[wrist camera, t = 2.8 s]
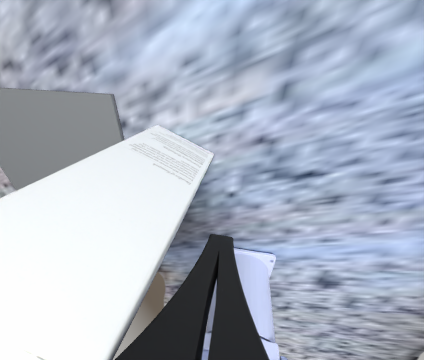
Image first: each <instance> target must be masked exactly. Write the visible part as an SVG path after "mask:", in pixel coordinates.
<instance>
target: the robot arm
mask: <svg viewBox="0 0 424 360" xmlns="http://www.w3.org/2000/svg"><path fill="white" fill-rule="evenodd" d="M275 261H276V256H275V255H274V254H269V253H262V252H256V251H249V250H243V249H237V248H234V246H233V238H232V237H228V236H222V235H215V234H211V235H210V237H209V239H208V242H207V244H206V246H205V248H204V250H203V252H202V254H201V256H200V257H199V259H198V261H197V262H196V264H195V266H194V267H193V269H192V270H191V272H190V273H189V275H188V277H187V278H186V280H185V281H184V282H183V284H182V285H181V287H180V288H179V289H178V291H177V292H176V293H175V295H174V296H173V297H172V298H171V300H170V301H169V302H168V303H167V305H166V306H165V307H164V308H163V309H162V311H161V312H160V313H159V314H158V315H157V317H156V318H155V319H154V320H153V321H152V322H151V323H150V324H149V325H148V326H147V327H146V328H145V330H144V331H143V332H142V333H141V334H140V335H139V336H138V337H137V338H136V339H135V340H134V341H133V342H132V343H131V344H130V345H129V346H128V347H127V348H126V349H125V350H124V351H123V352H122V353H121V354H120V355H119V356H118V357H117V358H116V359H115V360H288V359H287V358H286V357H284V356H280V358H279V349H278V344H277V343H276V342H275V333H274V323H273V314H272V304H271V294H270V285H269V278H270V275H271V272H272V269H273V266H274V263H275ZM209 311H210V312H209ZM208 315H209V318H208ZM207 320H208V325H207ZM206 326H207V331H206Z"/></svg>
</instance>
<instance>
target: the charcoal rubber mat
mask: <svg viewBox="0 0 424 360" xmlns="http://www.w3.org/2000/svg"><path fill="white" fill-rule="evenodd" d="M122 141H124V137H123V132H122V128H121V124H120V120H119V116H118V111H117V107H116V103H115V99H114V94H102V93H84V92H66V91H48V90H30V89H13V88H0V167H1V168H2V170H3V171H4V173H5V174H6V176H7V177H8V179H9V180H10V182H11V183H12V185H13V186H14V188H15V189H16V191H17V190H19V189H21V188H24V187H26V186H28V185H30V184H32V183H34V182H36V181H39V180H41V179H43V178H45V177H47V176H49V175H51V174H54V173H56V172H58V171H60V170H62V169H64V168H66V167H68V166H70V165H72V164H75V163H77V162H79V161H81V160H83V159H85V158H87V157H90V156H92V155H94V154H96V153H98V152H100V151H102V150H104V149H107V148H109V147H111V146H113V145H115V144H117V143H119V142H122Z"/></svg>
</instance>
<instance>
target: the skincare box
mask: <svg viewBox="0 0 424 360" xmlns="http://www.w3.org/2000/svg"><path fill="white" fill-rule="evenodd" d="M213 156H214V154H213V153H211V152H210V151H208V150H206V149H204V148H202V147H200V146H198V145H196V144H194V143H192V142H190V141H188V140H186V139H184V138H182V137H181V136H179V135H177V134H175V133H173V132H171V131H169V130H167V129H165V128H163V127H161V126H160V125H155V126H153V127H151V128H149V129H147V130H145V131H143V132H141V133H138V134H136V135H134V136H132V137H130V138H128V139H126V140H124V141H122V142H119V143H117V144H115V145H113V146H111V147H109V148H107V149H104V150H102V151H100V152H98V153H96V154H94V155H92V156H90V157H87V158H85V159H83V160H81V161H79V162H77V163H75V164H72V165H70V166H68V167H66V168H64V169H62V170H60V171H58V172H56V173H54V174H51V175H49V176H47V177H45V178H43V179H41V180H39V181H36V182H34V183H32V184H30V185H28V186H26V187H24V188H21V189H19V190H17V191H15V192H13V193H11V194H8V195H6V196H4V197H2V198H0V360H113V358H114V356H115V354H116V352H117V350H118V348H119V346H120V344H121V342H122V340H123V338H124V336H125V334H126V332H127V331H128V329H129V327H130V325H131V323H132V321H133V319H134V317H135V315H136V313H137V311H138V309H139V307H140V305H141V303H142V301H143V299H144V297H145V295H146V293H147V291H148V289H149V287H150V285H151V283H152V281H153V279H154V277H155V275H156V273H157V271H158V269H159V267H160V265H161V263H162V261H163V259H164V257H165V255H166V253H167V251H168V249H169V247H170V245H171V243H172V241H173V239H174V237H175V235H176V233H177V231H178V229H179V227H180V225H181V223H182V221H183V218H184V216H185V214H186V212H187V210H188V208H189V206H190V204H191V202H192V200H193V198H194V196H195V194H196V192H197V190H198V188H199V185H200V183H201V181H202V179H203V177H204V175H205V173H206V171H207V169H208V167H209V165H210V163H211V161H212V158H213Z"/></svg>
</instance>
